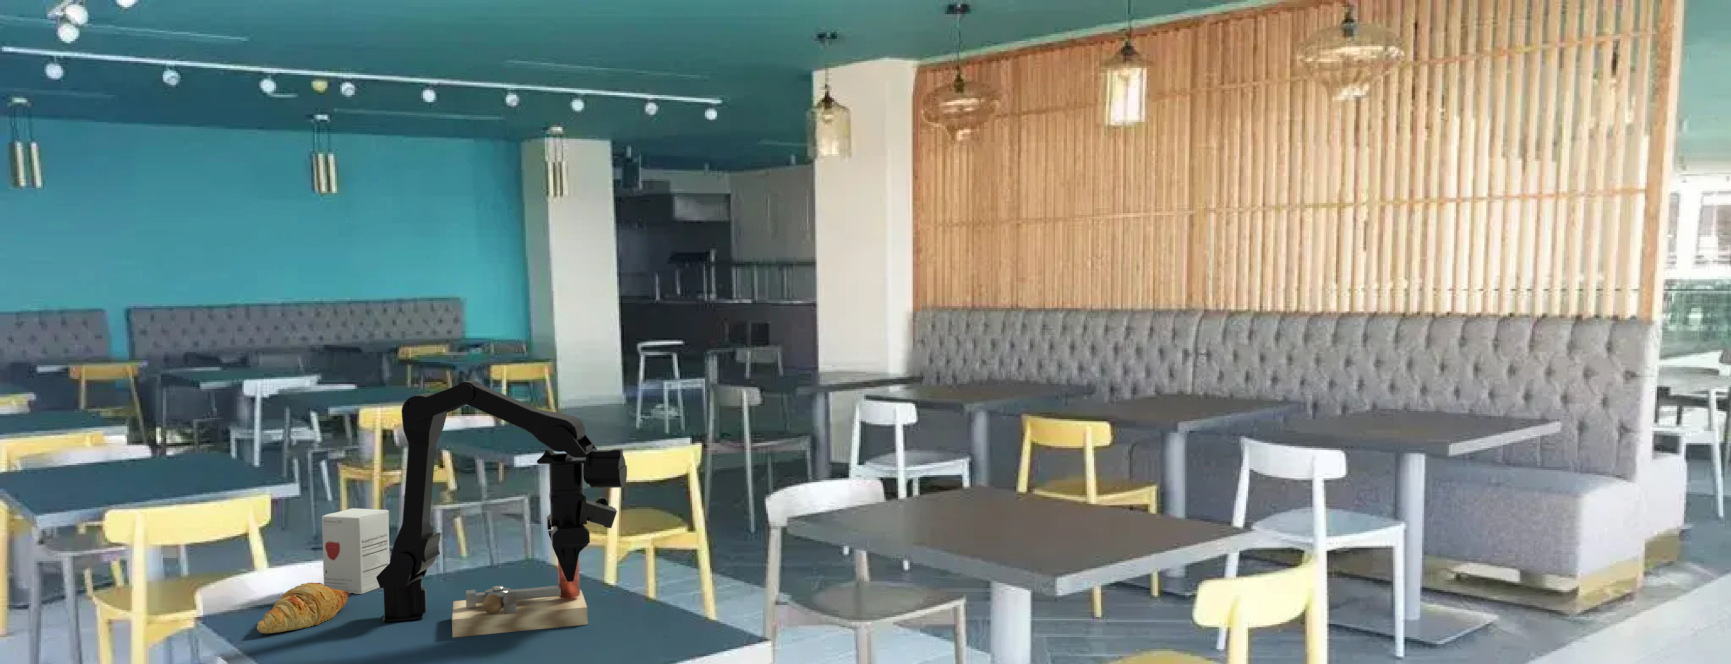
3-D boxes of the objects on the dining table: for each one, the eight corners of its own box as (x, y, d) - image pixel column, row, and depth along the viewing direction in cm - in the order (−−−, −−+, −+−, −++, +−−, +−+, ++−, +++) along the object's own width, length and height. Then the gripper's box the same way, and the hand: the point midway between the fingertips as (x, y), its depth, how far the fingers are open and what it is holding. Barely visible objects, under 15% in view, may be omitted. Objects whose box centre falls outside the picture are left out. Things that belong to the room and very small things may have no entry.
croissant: (274, 659, 205) (291, 619, 204) (229, 628, 207) (245, 588, 206) (358, 623, 225) (374, 586, 224) (316, 595, 228) (331, 558, 226)
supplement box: (321, 592, 237) (319, 515, 236) (354, 581, 246) (351, 507, 245) (361, 594, 234) (358, 517, 234) (392, 583, 243) (389, 508, 242)
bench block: (452, 637, 204) (451, 601, 203) (454, 617, 216) (453, 584, 216) (587, 624, 210) (586, 589, 210) (581, 606, 223) (580, 573, 222)
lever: (466, 608, 209) (464, 566, 208) (466, 602, 213) (465, 561, 213) (580, 598, 214) (579, 557, 214) (578, 592, 219) (577, 552, 218)
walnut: (482, 616, 205) (482, 597, 205) (482, 611, 208) (482, 593, 208) (502, 614, 206) (502, 595, 206) (502, 609, 209) (501, 591, 209)
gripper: (618, 493, 209) (620, 583, 209) (607, 477, 227) (609, 561, 227) (551, 497, 206) (553, 589, 206) (545, 481, 223) (547, 566, 224)
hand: (568, 576), depth 216 cm, fingers open, 8 cm apart
